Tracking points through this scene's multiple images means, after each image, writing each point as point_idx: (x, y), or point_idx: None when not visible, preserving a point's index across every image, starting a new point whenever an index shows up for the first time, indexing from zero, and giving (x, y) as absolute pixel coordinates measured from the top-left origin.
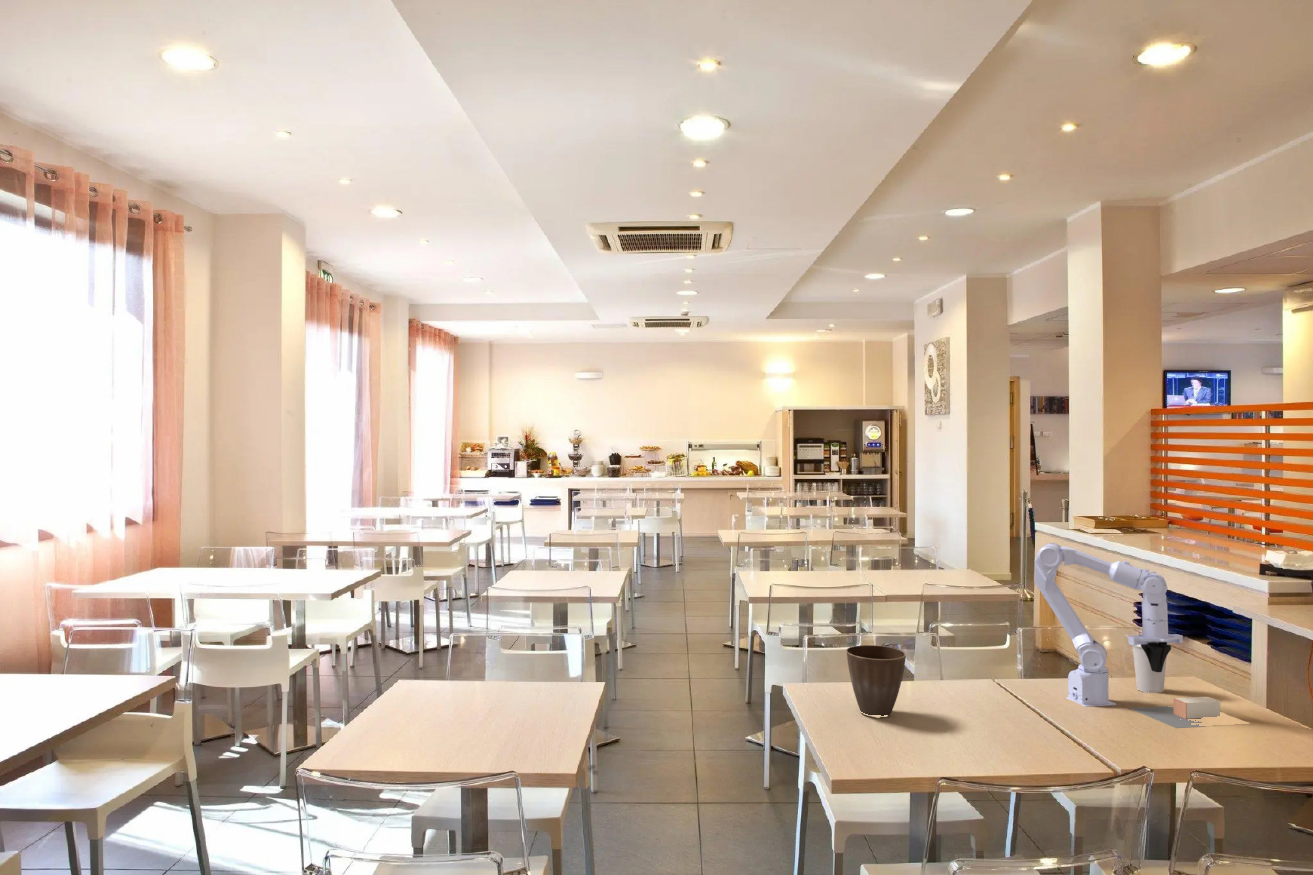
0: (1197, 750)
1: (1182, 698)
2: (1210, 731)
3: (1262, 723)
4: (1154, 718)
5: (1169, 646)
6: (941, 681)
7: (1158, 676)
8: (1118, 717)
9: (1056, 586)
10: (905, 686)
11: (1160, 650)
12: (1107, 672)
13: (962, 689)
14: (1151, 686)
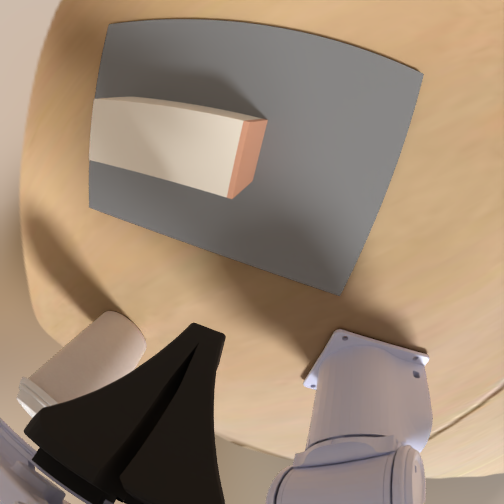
0: None
1: (194, 178)
2: (313, 3)
3: (82, 40)
4: (385, 182)
5: (42, 442)
6: (428, 476)
7: (96, 342)
8: (456, 262)
9: None
10: (481, 466)
11: (156, 469)
12: (347, 434)
13: (453, 458)
14: (125, 335)
